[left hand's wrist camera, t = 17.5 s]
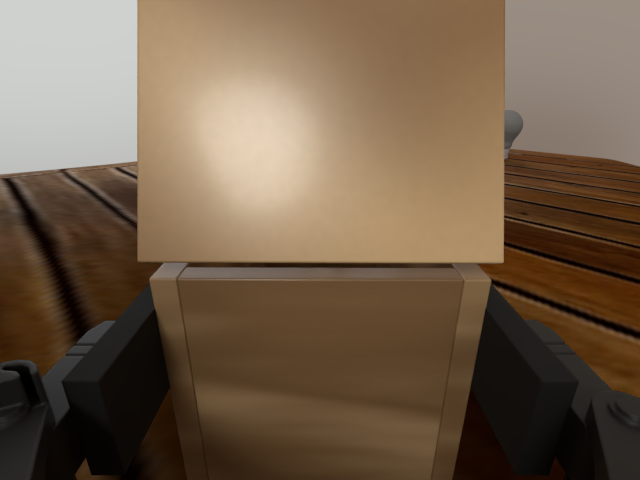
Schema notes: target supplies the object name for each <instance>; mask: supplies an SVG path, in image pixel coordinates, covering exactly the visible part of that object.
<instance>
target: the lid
mask: <svg viewBox="0 0 640 480" xmlns="http://www.w3.org/2000/svg"><path fill="white" fill-rule="evenodd" d="M504 94H505V0H138V203H137V260H138V262H140V263H427V264H502V263H503V262H504V96H505V95H504Z"/></svg>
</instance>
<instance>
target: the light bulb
mask: <svg viewBox="0 0 640 480" xmlns="http://www.w3.org/2000/svg"><path fill="white" fill-rule="evenodd" d="M522 127H523V120H522V118H521V116H520V115H519V114H518V113H517V112H515V111H512V110H506V111H504V159H507V158H508V157H507V156H508V155H507V154H508V152H509V148H510V147H511V146H512V143H513V141H514V139H515V138H516V137H517V136H518V134H519V133H520V132H521V130H522Z"/></svg>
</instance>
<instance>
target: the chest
mask: <svg viewBox="0 0 640 480" xmlns="http://www.w3.org/2000/svg"><path fill="white" fill-rule="evenodd" d="M149 281H150V286H151V291H152V297H153V302H154V307H155V311H156V316H157V322H158V327H159V332H160V337H161V342H162V348H163V353H164V358H165V363H166V369H167V374H168V379H169V384H170V392H171V397H172V402H173V408H174V413H175V418H176V423H177V429H178V434H179V439H180V445H181V450H182V455H183V460H184V466H185V471H186V476H187V480H452V479H453V474H454V469H455V464H456V459H457V454H458V448H459V443H460V438H461V433H462V428H463V423H464V418H465V413H466V408H467V403H468V398H469V392H470V387H471V382H472V376H473V371H474V366H475V361H476V356H477V351H478V345H479V340H480V335H481V330H482V325H483V320H484V314H485V309H486V306H487V301H488V296H489V290H490V285H491V279H490V278H489V277H488V276H487V275H486V273H485V272H484V271H483V270H482V269H481V268H480V267H479V266H478V265H477V264H427V263H163V265H162V266H161V267H160V268H159V269H158V270H157V271H156V272H155V273H154V274H153V275H152V276H151V278H150V279H149Z"/></svg>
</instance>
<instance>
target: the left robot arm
mask: <svg viewBox="0 0 640 480" xmlns="http://www.w3.org/2000/svg"><path fill="white" fill-rule="evenodd" d="M169 388H170V384H169V379H168V374H167V369H166V363H165V358H164V353H163V348H162V342H161V337H160V332H159V327H158V322H157V316H156V311H155V307H154V302H153V297H152V291H151V286H150V284H149V285H148V286H147V287H146V288H145V289H144V290H143V291H142V292H141V294H140V295H139V296H138V297H137V298H136V299H135V300H134V301H133V302H132V304H131V305H130V306H129V307H128V308H127V309H126V310H125V311H124V312H123V313H122V315H121V316H120V317H119V318H118V319H117V320H116V321H104V322H102V323H101V324H99V325H98V326H96V327H94V328H93V329H91V330H89V331H88V332H87V333H86V334H85V335H84V336H83V337H82V338H81V339H80V340H79V341H78V342H77V343H76V346H73V347H72V348H71V349H70V350H69V351H68V352H67V353H66V356H63V357H62V358H61V359H60V360H59V361H58V362H57V363H56V364H55V365H54V366H53V367H52V368H51V369H50V370H49V371H48V372H47V373H46V374H45V376H44V377H43V378H41V375H40V372H39V370H38V367H37V365H36V364H35V363H33V362H32V361H27V360H15V361H9V362H4V363H1V364H0V480H77V479H76V476H75V473H76V472H77V470H78V469H79V467H80V466H81V464H82V462H83V461H84V459H85V458H86V459H87V462H88V465H89V468H90V472H91V475H125V473H126V471H127V470H128V468H129V466H130V464H131V462H132V460H133V458H134V456H135V454H136V452H137V450H138V448H139V446H140V444H141V442H142V440H143V438H144V436H145V434H146V433H147V431H148V429H149V427H150V425H151V423H152V421H153V419H154V417H155V415H156V413H157V411H158V409H159V407H160V405H161V403H162V401H163V399H164V397H165V396H166V394H167V392H168V390H169ZM471 389H472V391H473V393H474V395H475V397H476V399H477V401H478V402H479V404H480V406H481V408H482V410H483V412H484V414H485V416H486V418H487V420H488V422H489V424H490V426H491V428H492V430H493V432H494V434H495V436H496V438H497V439H498V441H499V443H500V445H501V447H502V449H503V451H504V453H505V455H506V457H507V459H508V461H509V463H510V465H511V467H512V469H513V471H514V473H515V475H549V473H550V470H551V467H552V464H553V461H554V458H555V457H556V458H557V460H558V461H559V463H560V464H561V466H562V468H563V469H564V471H565V472H566V473H565V476H564V479H563V480H640V398H638V397H635V396H632V395H629V394H627V393H624V392H619V391H613V390H612V389H611V388H610V387H609V386H608V385H607V384H606V383H605V382H604V381H603V380H602V379H601V378H600V377H599V376H598V375H597V374H596V373H595V372H594V371H593V370H592V369H591V368H590V367H589V366H588V365H587V364H586V363H585V362H584V361H583V360H582V359H581V358H580V357H579V356H578V355H575V352H574V351H573V350H572V349H571V348H570V347H569V346H568V345H565V342H564V341H563V340H562V339H561V338H560V337H559V336H558V335H557V334H556V333H555V332H554V331H553V330H552V329H550V328H549V327H547V326H545V325H544V324H542V323H540V322H539V321H537V320H523V318H522V317H521V316H520V315H519V314H518V313H517V312H516V311H515V310H514V309H513V307H512V306H511V305H510V304H509V303H508V302H507V301H506V300H505V299H504V297H503V296H502V295H501V294H500V293H499V292H498V291H497V290H496V289H495V288H494V286H493V285H492V284H491V285H490V290H489V296H488V301H487V306H486V309H485V314H484V320H483V325H482V330H481V335H480V340H479V345H478V351H477V356H476V361H475V366H474V371H473V376H472V382H471Z"/></svg>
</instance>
